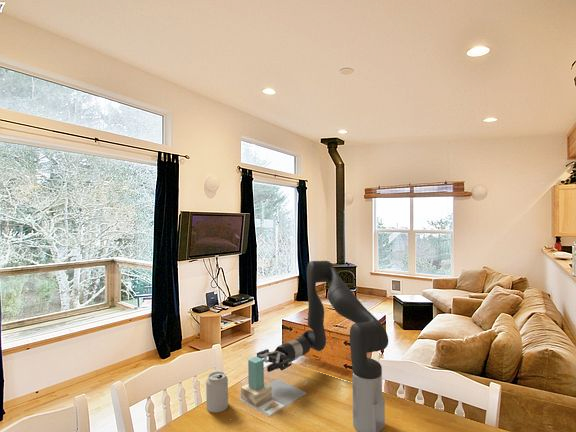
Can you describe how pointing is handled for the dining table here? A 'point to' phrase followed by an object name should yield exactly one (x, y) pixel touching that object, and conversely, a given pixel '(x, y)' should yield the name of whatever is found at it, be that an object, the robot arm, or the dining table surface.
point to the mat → (278, 397)
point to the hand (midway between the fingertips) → (259, 365)
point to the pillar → (256, 373)
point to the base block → (256, 394)
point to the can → (217, 392)
